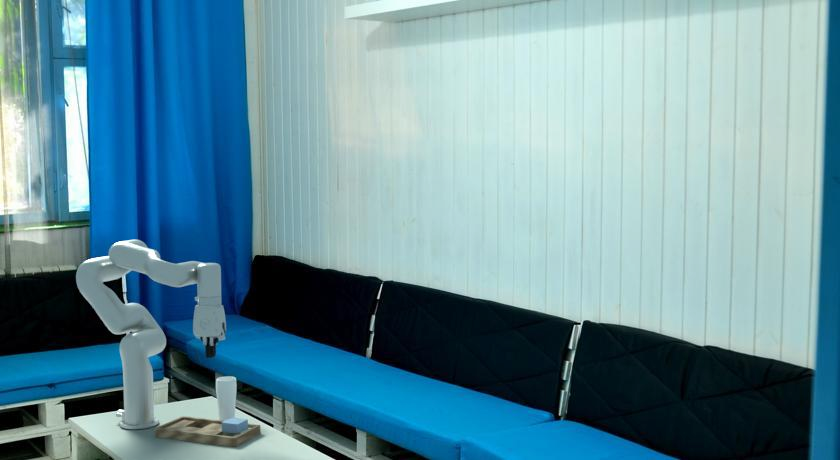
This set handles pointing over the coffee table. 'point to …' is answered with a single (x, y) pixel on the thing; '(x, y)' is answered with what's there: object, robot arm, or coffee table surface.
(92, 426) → the coffee table surface
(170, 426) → the box
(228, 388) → the drinking glass
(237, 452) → the coffee table surface
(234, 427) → the block
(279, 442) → the coffee table surface
